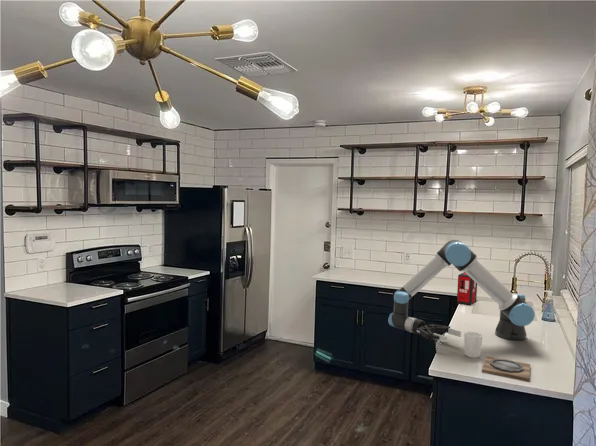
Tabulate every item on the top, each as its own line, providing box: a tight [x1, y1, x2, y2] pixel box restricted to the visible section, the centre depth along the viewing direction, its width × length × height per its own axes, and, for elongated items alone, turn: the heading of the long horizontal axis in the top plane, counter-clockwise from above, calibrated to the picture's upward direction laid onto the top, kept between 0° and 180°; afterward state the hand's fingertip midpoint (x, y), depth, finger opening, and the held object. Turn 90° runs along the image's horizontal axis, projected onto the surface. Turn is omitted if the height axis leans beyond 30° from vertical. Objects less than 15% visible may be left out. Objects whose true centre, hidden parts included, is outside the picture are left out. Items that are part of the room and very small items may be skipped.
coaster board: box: [481, 355, 531, 382], centre depth 193 cm, size 18×18×2 cm
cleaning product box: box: [456, 272, 478, 307], centre depth 311 cm, size 16×9×20 cm, turn 145°
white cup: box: [463, 331, 484, 359], centre depth 208 cm, size 8×8×10 cm
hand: (453, 336), depth 216 cm, fingers open, 13 cm apart
